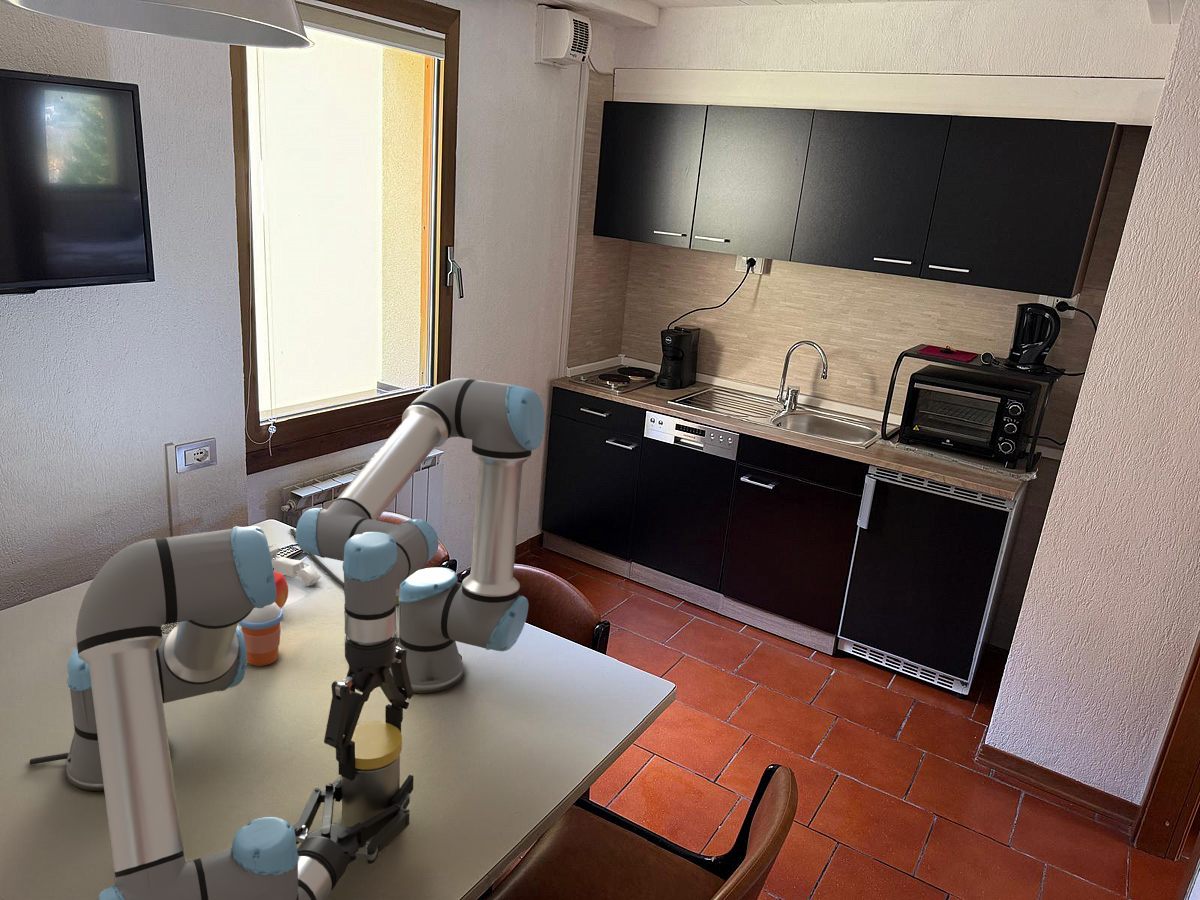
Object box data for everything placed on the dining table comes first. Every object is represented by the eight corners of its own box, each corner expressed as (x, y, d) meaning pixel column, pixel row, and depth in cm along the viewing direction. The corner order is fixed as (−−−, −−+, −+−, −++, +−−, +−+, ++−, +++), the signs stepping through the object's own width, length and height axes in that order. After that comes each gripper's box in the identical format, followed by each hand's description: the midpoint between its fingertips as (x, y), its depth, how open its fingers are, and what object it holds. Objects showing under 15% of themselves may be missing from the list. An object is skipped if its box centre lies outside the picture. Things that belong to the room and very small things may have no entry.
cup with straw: (269, 673, 178) (266, 595, 172) (230, 665, 179) (225, 588, 174) (293, 651, 186) (290, 576, 181) (255, 644, 188) (252, 569, 183)
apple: (273, 600, 207) (272, 562, 204) (297, 613, 202) (296, 575, 199) (237, 614, 200) (234, 575, 197) (261, 628, 194) (259, 588, 191)
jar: (390, 799, 145) (390, 721, 141) (406, 834, 138) (407, 753, 133) (336, 814, 141) (334, 734, 136) (350, 851, 134) (349, 768, 129)
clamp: (253, 565, 223) (254, 542, 221) (265, 560, 226) (266, 537, 224) (309, 593, 215) (310, 569, 213) (320, 588, 218) (321, 564, 216)
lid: (340, 773, 129) (340, 763, 129) (338, 735, 138) (337, 725, 137) (404, 765, 132) (405, 754, 132) (398, 727, 141) (399, 717, 140)
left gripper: (243, 878, 124) (324, 780, 145) (380, 915, 120) (444, 808, 141) (240, 836, 122) (324, 742, 143) (380, 872, 118) (445, 770, 139)
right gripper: (401, 599, 140) (400, 716, 147) (294, 657, 121) (299, 788, 128) (437, 612, 137) (434, 732, 143) (333, 674, 118) (335, 808, 125)
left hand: (383, 775), depth 142 cm, fingers closed on jar, 9 cm apart
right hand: (370, 758), depth 136 cm, fingers closed on lid, 10 cm apart
